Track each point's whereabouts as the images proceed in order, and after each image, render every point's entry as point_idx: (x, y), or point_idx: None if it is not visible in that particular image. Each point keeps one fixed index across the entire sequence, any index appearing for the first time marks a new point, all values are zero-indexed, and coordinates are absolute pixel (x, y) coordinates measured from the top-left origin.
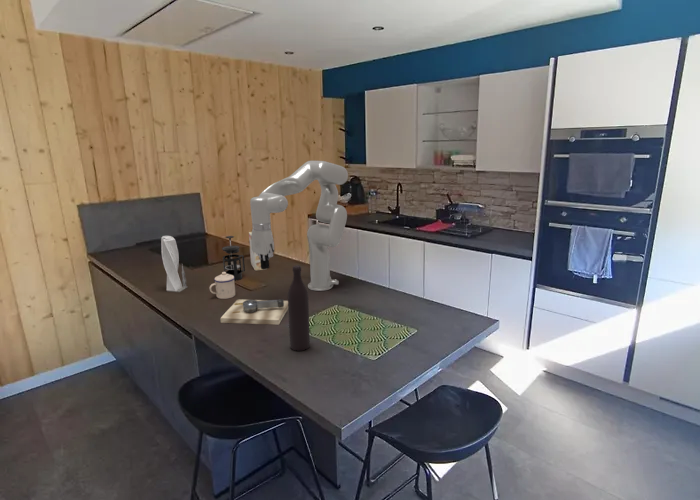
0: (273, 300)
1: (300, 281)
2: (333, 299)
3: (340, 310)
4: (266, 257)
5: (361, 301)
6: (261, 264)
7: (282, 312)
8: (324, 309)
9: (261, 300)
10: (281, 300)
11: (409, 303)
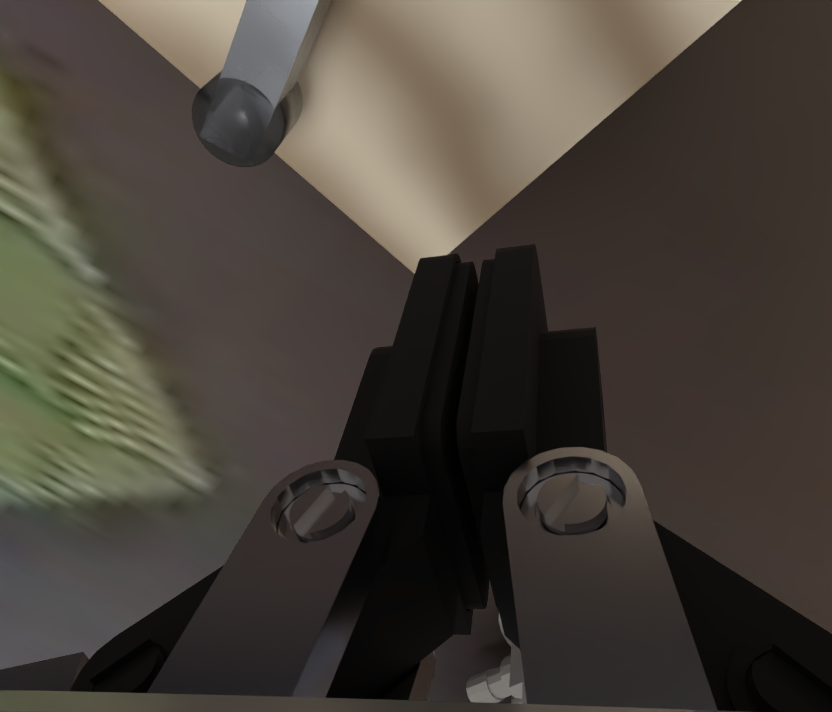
0: (280, 48)
1: None
2: None
3: (97, 446)
4: (176, 627)
5: (180, 593)
6: (484, 325)
7: (153, 39)
8: (166, 390)
9: (687, 27)
10: (222, 133)
11: None
